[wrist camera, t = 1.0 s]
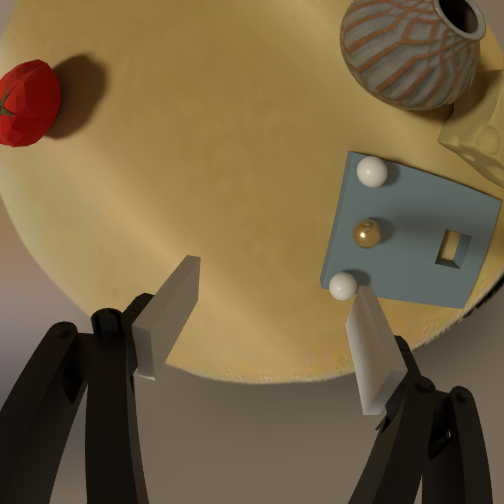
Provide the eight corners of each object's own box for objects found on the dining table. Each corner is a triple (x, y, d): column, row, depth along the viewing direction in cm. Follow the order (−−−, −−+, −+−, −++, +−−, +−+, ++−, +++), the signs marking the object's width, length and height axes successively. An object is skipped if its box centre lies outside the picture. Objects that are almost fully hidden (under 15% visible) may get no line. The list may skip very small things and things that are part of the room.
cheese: (434, 142, 28) (480, 148, 19) (458, 73, 24) (504, 62, 15) (487, 183, 28) (534, 201, 19) (509, 119, 24) (556, 122, 15)
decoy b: (331, 265, 33) (335, 278, 30) (357, 269, 33) (362, 282, 30) (324, 289, 34) (327, 303, 31) (349, 293, 34) (354, 307, 31)
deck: (348, 151, 30) (352, 152, 28) (491, 196, 29) (501, 201, 26) (320, 278, 36) (321, 288, 34) (456, 300, 35) (463, 309, 33)
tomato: (30, 156, 35) (-19, 168, 25) (18, 94, 31) (-28, 96, 21) (83, 118, 32) (29, 120, 22) (69, 49, 28) (20, 39, 18)
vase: (410, 12, 22) (478, -47, 6) (447, 106, 26) (545, 101, 10) (314, 23, 25) (331, -63, 9) (353, 124, 29) (418, 113, 13)
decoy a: (356, 152, 28) (364, 153, 25) (384, 159, 27) (394, 161, 25) (351, 181, 29) (357, 186, 26) (378, 187, 29) (388, 193, 26)
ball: (353, 212, 30) (359, 220, 27) (380, 218, 30) (388, 227, 27) (346, 240, 31) (352, 250, 28) (372, 245, 31) (380, 256, 28)
